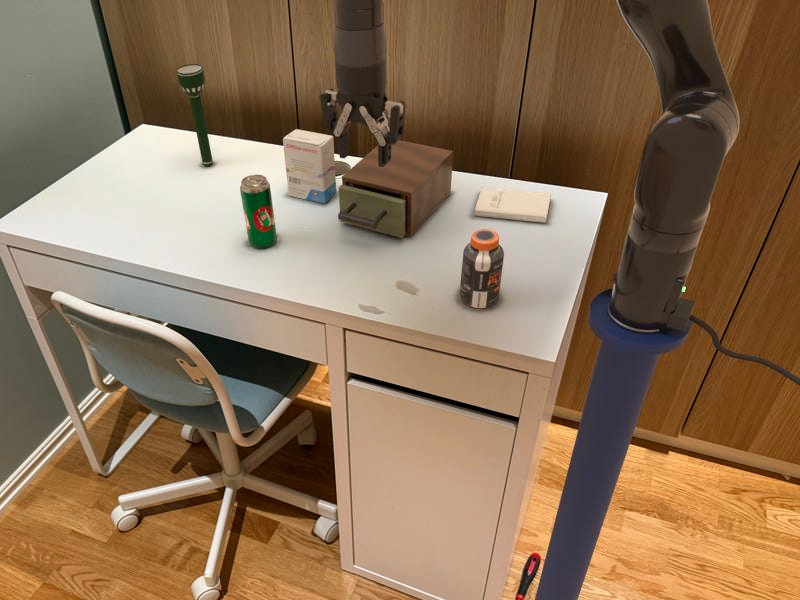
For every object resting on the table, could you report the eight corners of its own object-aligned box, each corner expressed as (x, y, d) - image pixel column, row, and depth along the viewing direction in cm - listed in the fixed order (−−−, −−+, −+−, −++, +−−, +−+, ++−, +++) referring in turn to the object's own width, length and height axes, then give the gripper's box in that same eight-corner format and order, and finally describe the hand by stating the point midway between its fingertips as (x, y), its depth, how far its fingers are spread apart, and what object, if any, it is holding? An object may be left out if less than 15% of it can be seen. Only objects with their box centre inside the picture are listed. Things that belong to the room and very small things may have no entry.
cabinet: (410, 237, 124) (411, 193, 118) (344, 219, 130) (341, 176, 124) (450, 193, 134) (453, 150, 128) (387, 178, 140) (386, 137, 134)
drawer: (388, 252, 120) (388, 217, 115) (326, 234, 125) (323, 200, 121) (440, 196, 132) (442, 162, 127) (381, 182, 137) (381, 149, 133)
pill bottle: (491, 313, 107) (498, 250, 100) (453, 303, 110) (458, 241, 102) (503, 291, 111) (511, 229, 103) (467, 282, 113) (472, 220, 106)
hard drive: (545, 224, 124) (474, 216, 128) (550, 200, 130) (481, 193, 133) (547, 216, 123) (474, 208, 127) (551, 192, 129) (482, 186, 132)
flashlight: (220, 157, 152) (203, 62, 139) (219, 169, 148) (202, 72, 135) (196, 160, 152) (177, 65, 139) (195, 171, 148) (175, 75, 135)
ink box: (338, 192, 138) (334, 134, 130) (325, 204, 134) (321, 145, 127) (300, 183, 141) (295, 126, 133) (287, 195, 138) (280, 137, 130)
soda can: (252, 233, 129) (242, 173, 121) (279, 234, 128) (271, 173, 120) (246, 249, 125) (235, 188, 117) (274, 249, 124) (265, 188, 116)
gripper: (416, 52, 103) (414, 159, 114) (332, 40, 109) (337, 142, 120) (391, 71, 99) (392, 180, 110) (305, 57, 105) (314, 161, 116)
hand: (363, 160), depth 115 cm, fingers open, 6 cm apart
